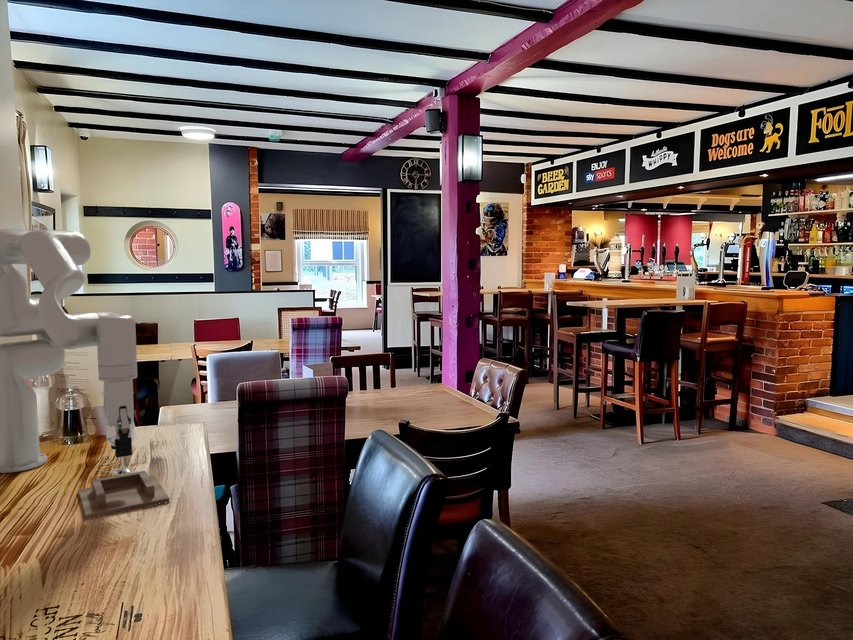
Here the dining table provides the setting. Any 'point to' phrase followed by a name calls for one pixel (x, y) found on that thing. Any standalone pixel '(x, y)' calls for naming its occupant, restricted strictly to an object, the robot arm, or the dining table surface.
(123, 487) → the u rest
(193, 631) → the dining table surface
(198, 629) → the dining table surface
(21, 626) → the dining table surface
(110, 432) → the wineglass
